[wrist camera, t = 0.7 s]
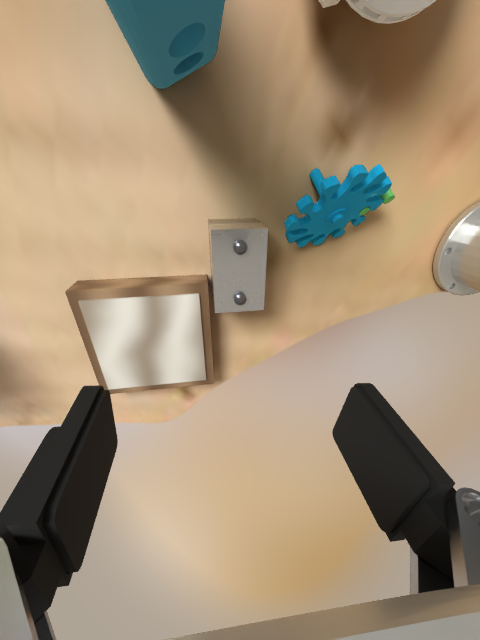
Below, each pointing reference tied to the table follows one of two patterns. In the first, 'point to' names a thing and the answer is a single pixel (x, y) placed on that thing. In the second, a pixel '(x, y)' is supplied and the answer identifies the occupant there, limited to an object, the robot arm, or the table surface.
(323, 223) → the gear
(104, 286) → the stand
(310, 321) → the table surface
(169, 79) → the block
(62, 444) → the robot arm
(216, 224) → the block
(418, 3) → the mechanical part
